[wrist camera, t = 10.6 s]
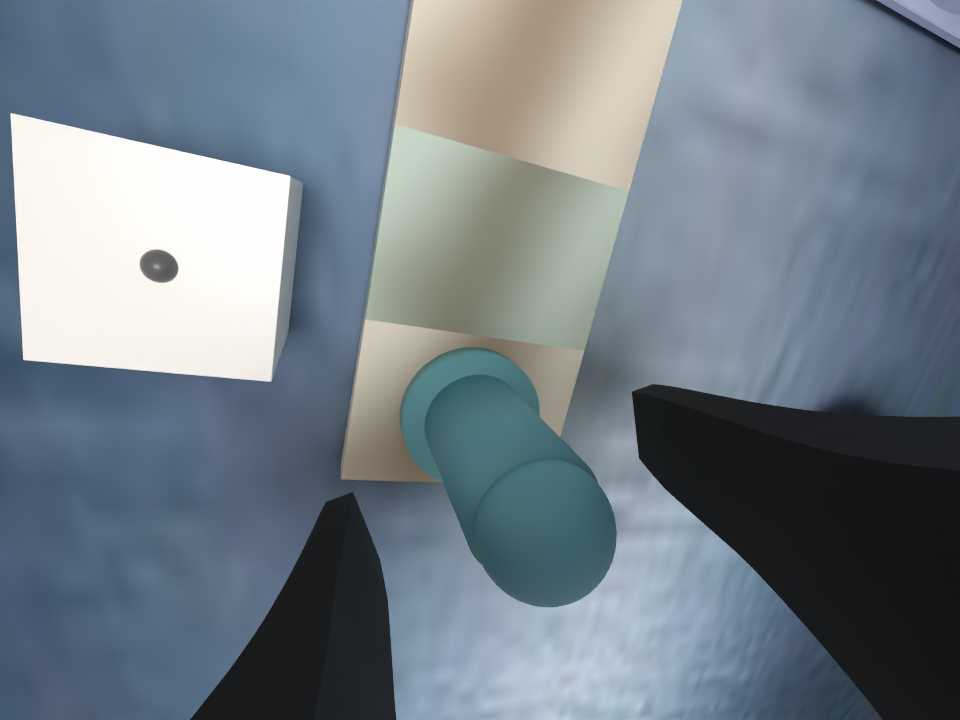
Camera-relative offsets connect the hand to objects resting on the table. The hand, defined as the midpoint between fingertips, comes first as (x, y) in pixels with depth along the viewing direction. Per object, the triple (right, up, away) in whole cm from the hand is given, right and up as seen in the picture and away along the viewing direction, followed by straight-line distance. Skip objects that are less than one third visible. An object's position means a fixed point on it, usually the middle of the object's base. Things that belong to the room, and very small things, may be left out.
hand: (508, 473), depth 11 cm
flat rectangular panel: (0, +6, +3) cm, 7 cm away
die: (-8, +6, +1) cm, 9 cm away
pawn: (-1, +1, +3) cm, 4 cm away
